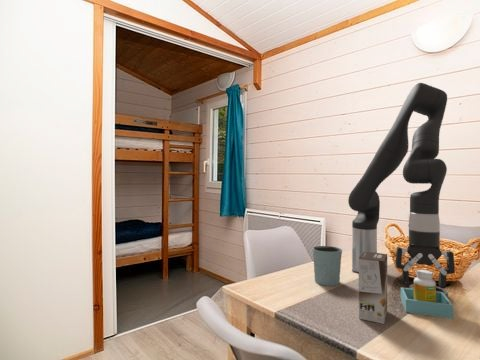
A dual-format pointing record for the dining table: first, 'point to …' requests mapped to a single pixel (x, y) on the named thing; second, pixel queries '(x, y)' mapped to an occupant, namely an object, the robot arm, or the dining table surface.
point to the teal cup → (327, 265)
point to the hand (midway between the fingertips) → (423, 285)
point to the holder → (436, 290)
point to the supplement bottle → (424, 286)
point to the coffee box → (373, 287)
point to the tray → (427, 304)
